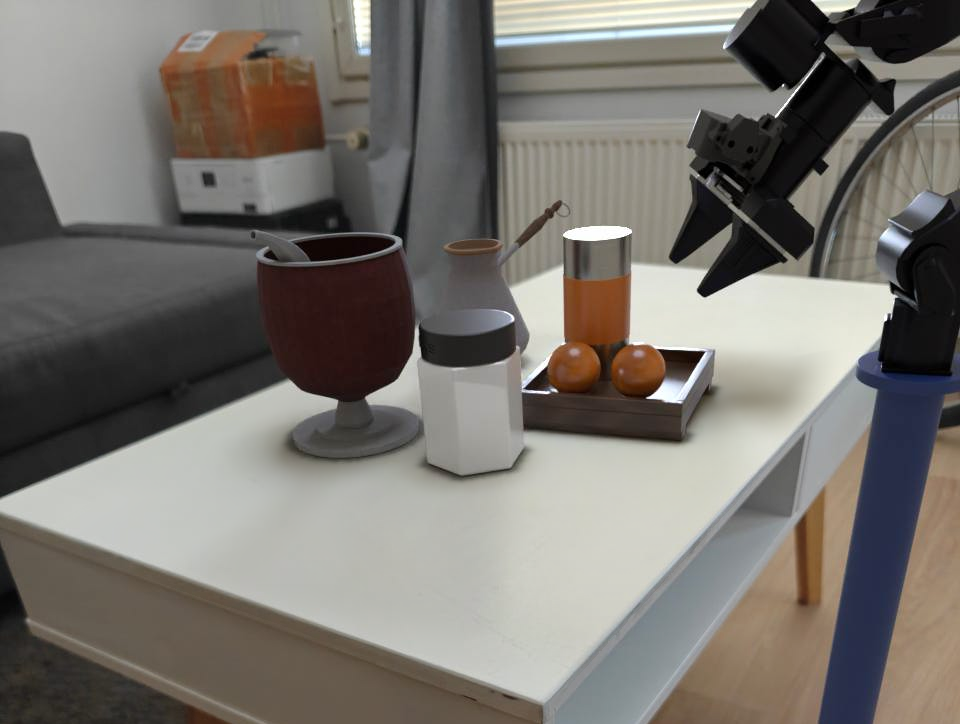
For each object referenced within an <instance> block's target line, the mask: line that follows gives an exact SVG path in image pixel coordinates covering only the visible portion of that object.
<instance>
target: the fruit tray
mask: <svg viewBox="0 0 960 724" xmlns="http://www.w3.org/2000/svg"><path fill="white" fill-rule="evenodd" d="M715 361H716V349H714V348H713V349H711V348H695V347H675V346H674V347H671V346H653V345H651V344H648V343H645V342H633V343H629V345H628V346H626V347H624V348H623V349H621V350H620V351H619V352H618V353H617V355H616V356H615V358H614V360H613V362H612V366H611V379H608V380H598V379H599V376H600V372H601V365H600V360H599V357H598V355H597V354H596V352H595V351H594V350H593V349H592V348H591V347H590V346H589V345H587V344H585V343H582V342H577V341H572V342H567V343H565V341H563V342H562V343H561V344H560V345H559V346H558V347H556V348H555V349H554V350H553V352H552V353H550V354H549V356H547V357H546V358H545V359H544V360H543V361H542V362H541V363H540V364H539V365H538V366H537V367H536V368H535V369H534V370H533V371H531V373H530V374H529V375H528V376H527V377H526V378H525V379H523V381H521V385H522V410H523V428H527V429H539V430H550V431H551V430H552V431H562V432H574V433H586V434H587V433H588V434H600V435H611V436H624V437H636V438H647V439H648V438H649V439H658V440H671V441H672V440H673V441H683V440H684V438H685V435H686V432H687V431H686V430H687V423H688V422H689V420H690V417H691V416H692V414H693V413H694V410H695V409H696V407H697V405H698V404H699V402H700V400H701V399H702V396H703V395H704V393H708V394H709V393H710V391H711V389H712V385H713V377H714V372H715Z"/></svg>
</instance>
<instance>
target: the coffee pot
mask: <svg viewBox="0 0 960 724" xmlns="http://www.w3.org/2000/svg"><path fill="white" fill-rule="evenodd" d="M562 205H563V206H564V207H566V208H567V209H568V214H567V215H563V214H561V213H560V212H558V211H559V210H560V208H561V207H562ZM555 214H556V215H558V216H559V217H561V218H567V217H569V216H570V215H571V208H570V206H569V205H568V204H566V203H565V202H564V201H563V200H561V199H559V200H556V201H555V202H553V204H552V205H551V207H547V208H545V209H544V213H543V214H541V215H540V216H539V217H537V218H535V219H533V221H532V222H531V223H530V224H529V225H528V226H527V228H526V229H525V230H524V231H523V232H522V233H521V234H520V235H518V238H517V239H516V240H515V241H514V242H513V244H512V245H510V246H509V247H508V248H507V249H506V250H505V251H504V252H503V253H501V255H500V250H501V249H502V248H503V246H504V242H503V241H502V240H499V239H493V238H470V239H463V240H457V241H452V242H449V243H447V244H445V245H444V246H443V252H445V253H446V254H447V256H448V260H449V263H450V269H449V274H448V275H447V279H446V282H445V286H444V289H443V292H442V294H441V299H440V302H439V306H438V309H437V312H436V315H437V314H440V313H445V312H450V311H456V310H466V309H490V310H498V311H503V312H506V313H508V314H510V315H512V316H513V317H514V319H515V331H516V346H519V347H520V356H522V354H523V353H524V352H525V351H526V349H527V348H528V345H529V342H530V338H531V337H530V335H531V334H530V331H529V329H528V326H527V324H526V322H525V320H524V318H523V316H522V313H521V311H520V309H519V307H518V304H517V303H516V301H515V300H516V299H515V298H514V295H513V293H512V291H511V290H510V287H509V285H508V282H507V280H506V278H505V276H504V274H503V271H502V269H501V267H502V266H503V265H505V264H506V262H508V260H509V259H510V258H511V257H512V256H513V255H514V254H515V253H516V252H517V251H518V249H521V248H522V247H523V246H524V245H525V244H527V242H529V241H530V240H531V239H532V238H534V236H535V235H537V234H538V233H539V232H540V231H541V230H542V229H543V227H544V226H545V225H546V223H547V222H548V221H549V220H550V219H553V218H554V216H555Z"/></svg>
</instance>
